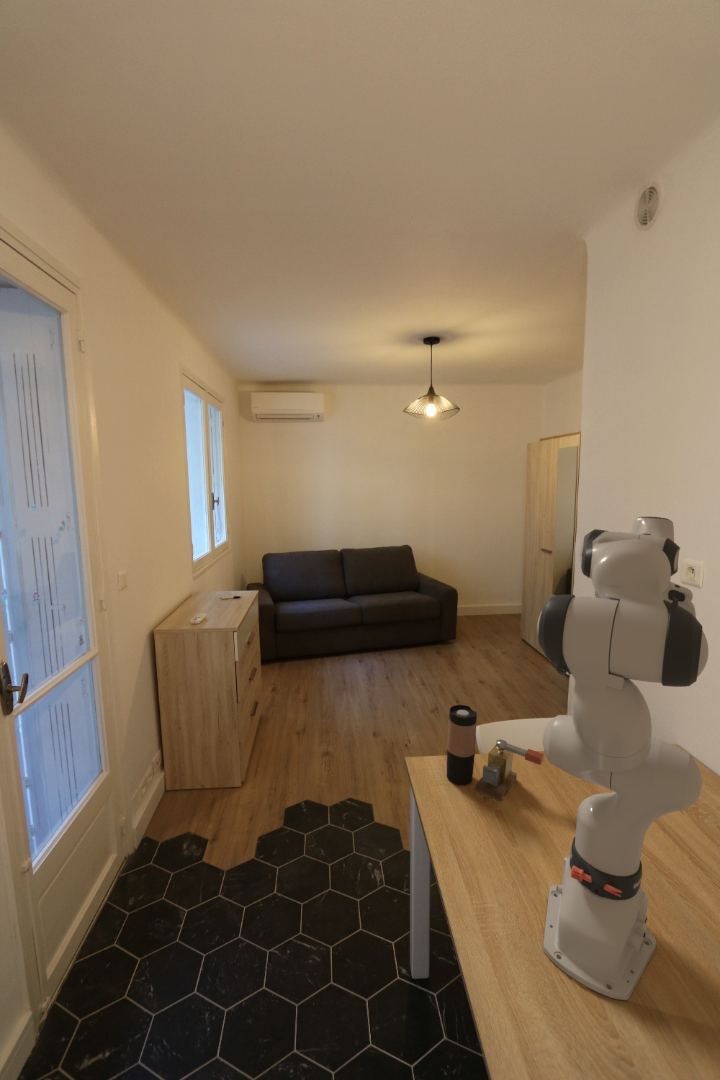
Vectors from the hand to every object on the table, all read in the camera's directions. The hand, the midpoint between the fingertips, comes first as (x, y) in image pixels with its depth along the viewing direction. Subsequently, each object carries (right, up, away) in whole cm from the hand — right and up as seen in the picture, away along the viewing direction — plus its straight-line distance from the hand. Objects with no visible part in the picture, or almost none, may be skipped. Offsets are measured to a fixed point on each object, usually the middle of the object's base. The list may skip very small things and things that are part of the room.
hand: (639, 645), depth 111 cm
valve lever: (-22, -33, +18) cm, 44 cm away
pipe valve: (-27, -41, +21) cm, 54 cm away
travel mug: (-37, -43, +24) cm, 61 cm away
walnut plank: (-27, -43, +21) cm, 55 cm away
